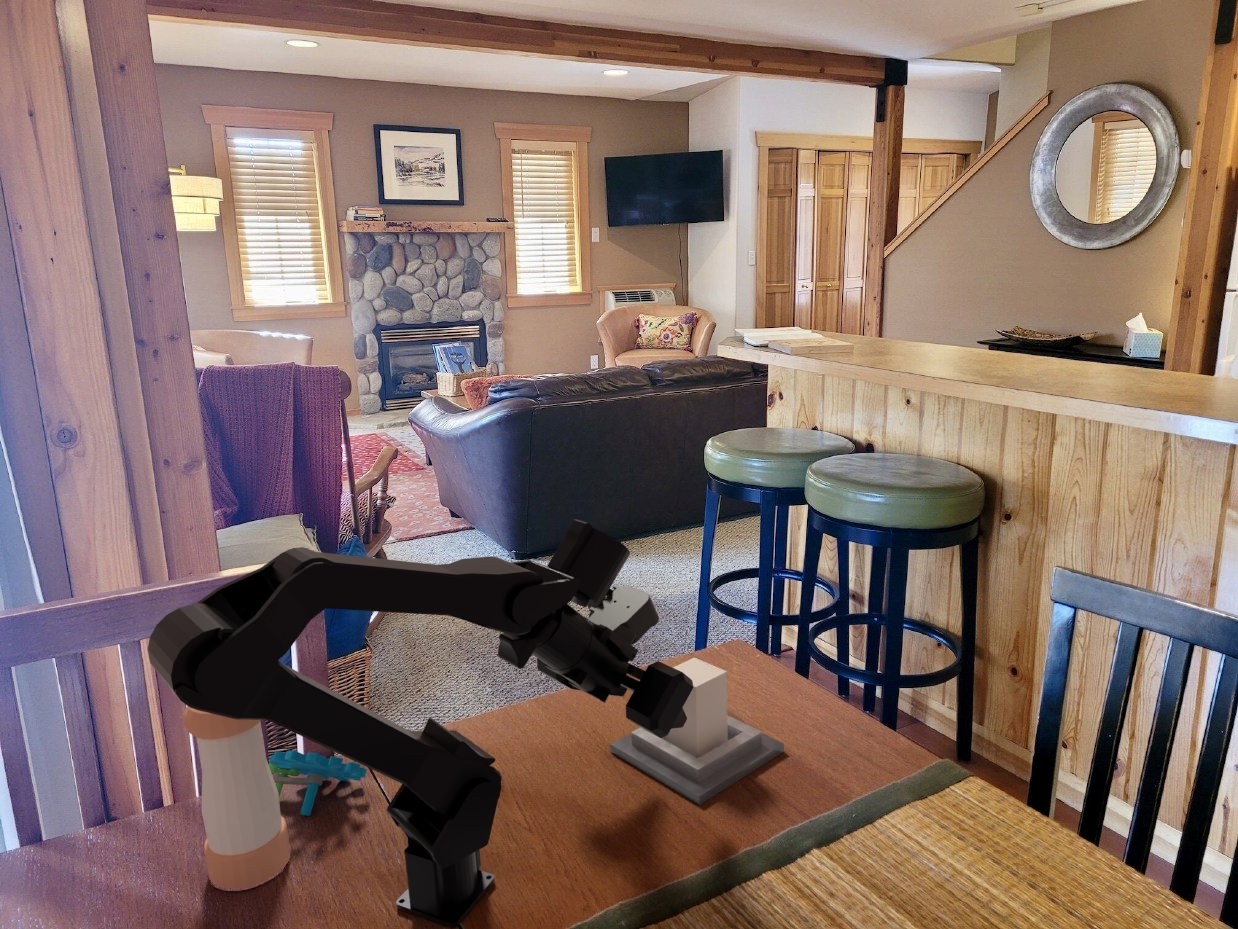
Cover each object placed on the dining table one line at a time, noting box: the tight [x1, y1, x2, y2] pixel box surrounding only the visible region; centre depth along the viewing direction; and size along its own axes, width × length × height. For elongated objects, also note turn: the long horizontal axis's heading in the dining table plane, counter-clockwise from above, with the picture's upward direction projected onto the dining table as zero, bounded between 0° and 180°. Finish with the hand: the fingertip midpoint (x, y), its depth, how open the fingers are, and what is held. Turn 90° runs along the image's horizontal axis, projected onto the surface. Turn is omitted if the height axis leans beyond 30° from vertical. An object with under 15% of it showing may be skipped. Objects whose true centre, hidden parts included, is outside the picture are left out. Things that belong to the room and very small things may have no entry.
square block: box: [665, 657, 728, 758], centre depth 97 cm, size 5×5×9 cm
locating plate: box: [609, 714, 785, 806], centre depth 98 cm, size 14×14×2 cm
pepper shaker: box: [182, 705, 292, 889], centre depth 80 cm, size 7×7×19 cm
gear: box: [268, 750, 368, 817], centre depth 91 cm, size 11×6×10 cm
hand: (653, 706), depth 92 cm, fingers open, 9 cm apart
